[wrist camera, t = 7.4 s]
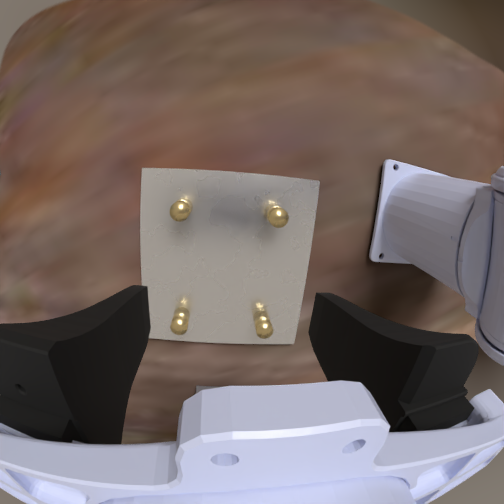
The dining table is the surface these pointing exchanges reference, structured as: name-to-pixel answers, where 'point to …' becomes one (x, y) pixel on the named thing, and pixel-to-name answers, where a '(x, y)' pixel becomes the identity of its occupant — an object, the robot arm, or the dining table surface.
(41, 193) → the dining table surface
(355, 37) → the dining table surface
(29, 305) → the dining table surface
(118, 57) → the dining table surface
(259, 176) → the plate with brass knobs
